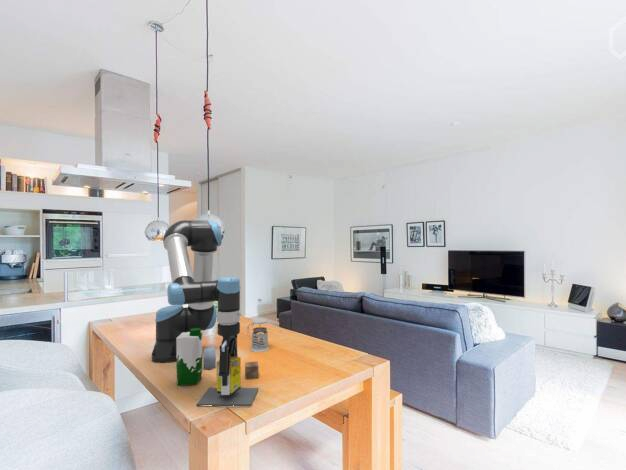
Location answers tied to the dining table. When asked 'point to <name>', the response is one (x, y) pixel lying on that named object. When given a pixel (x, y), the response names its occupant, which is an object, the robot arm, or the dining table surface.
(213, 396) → the charcoal mat
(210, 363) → the slate-blue pebble
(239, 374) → the supplement box
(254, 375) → the walnut block
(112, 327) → the dining table surface
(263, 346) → the grey wire-handled lantern
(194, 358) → the soya milk
